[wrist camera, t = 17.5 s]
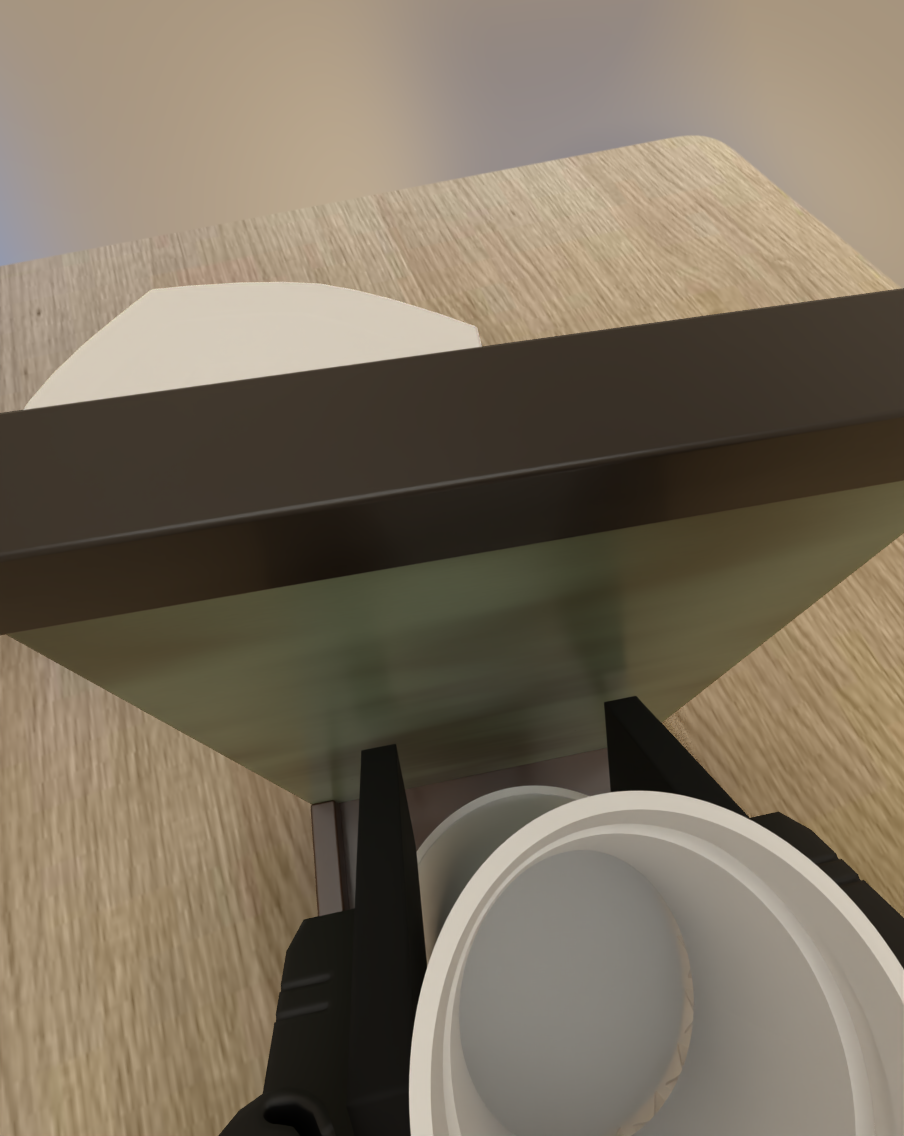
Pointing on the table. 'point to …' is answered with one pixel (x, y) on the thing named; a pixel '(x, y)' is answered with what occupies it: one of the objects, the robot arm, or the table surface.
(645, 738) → the robot arm
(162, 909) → the table surface
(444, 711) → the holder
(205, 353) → the plate
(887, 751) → the table surface
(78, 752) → the table surface
